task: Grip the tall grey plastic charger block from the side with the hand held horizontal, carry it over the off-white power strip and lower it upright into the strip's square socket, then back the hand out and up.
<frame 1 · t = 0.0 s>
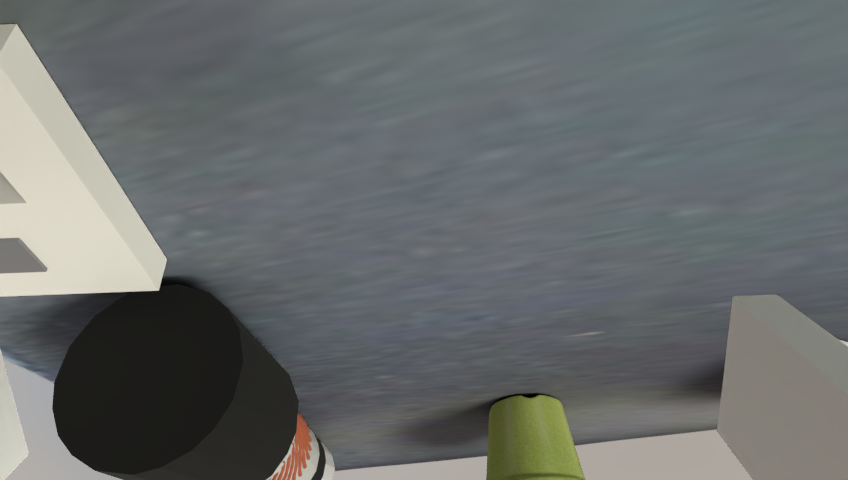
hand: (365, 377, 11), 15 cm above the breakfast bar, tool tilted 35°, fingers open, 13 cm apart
plant pot: (525, 404, 54), on the breakfast bar
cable: (264, 387, 50), on the breakfast bar
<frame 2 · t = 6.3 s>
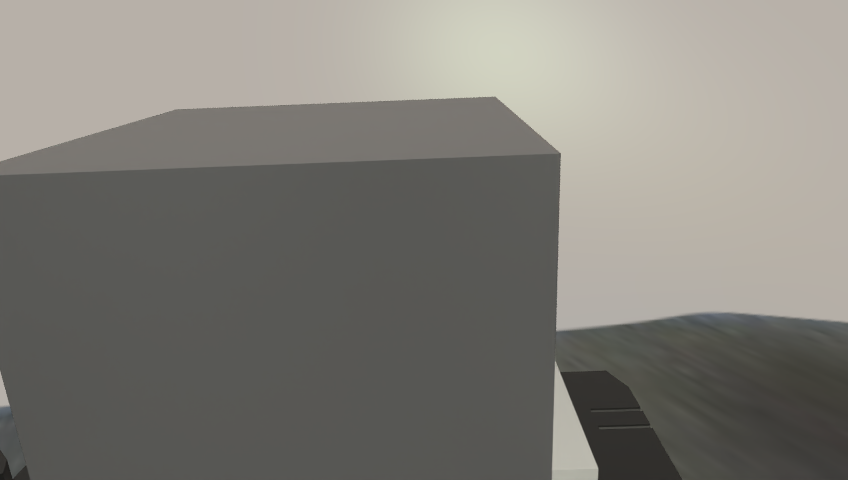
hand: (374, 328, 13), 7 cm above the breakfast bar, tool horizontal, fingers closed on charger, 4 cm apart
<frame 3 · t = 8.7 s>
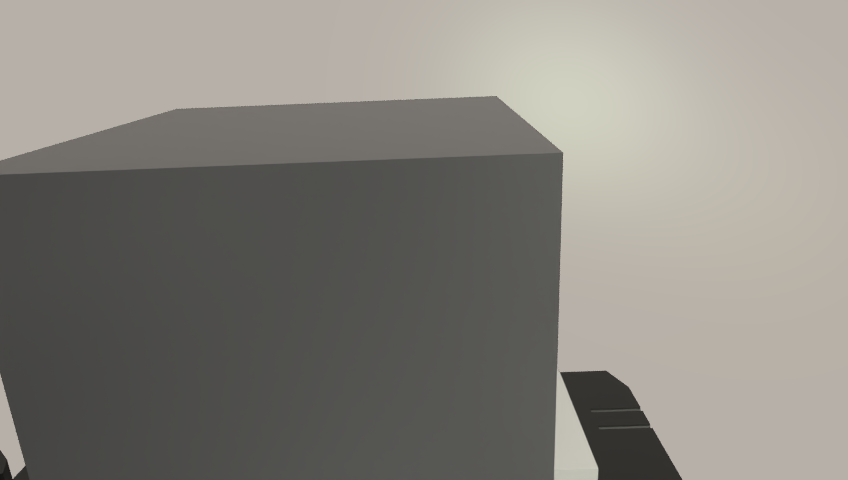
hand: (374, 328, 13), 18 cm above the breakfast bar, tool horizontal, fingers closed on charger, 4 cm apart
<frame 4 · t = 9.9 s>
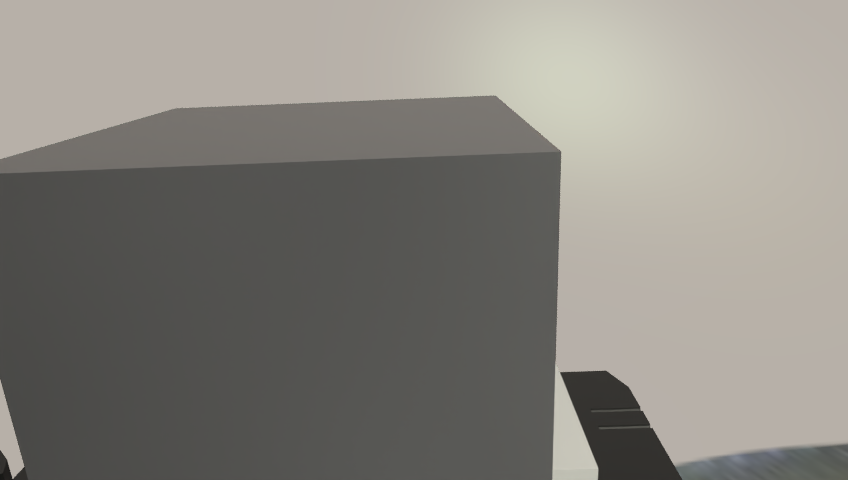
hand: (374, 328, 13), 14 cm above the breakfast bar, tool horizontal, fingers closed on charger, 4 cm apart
when the fingers open (8 cm above the breakfast bar, at t = 11.3 s): charger drops 2 cm, resting in power strip.
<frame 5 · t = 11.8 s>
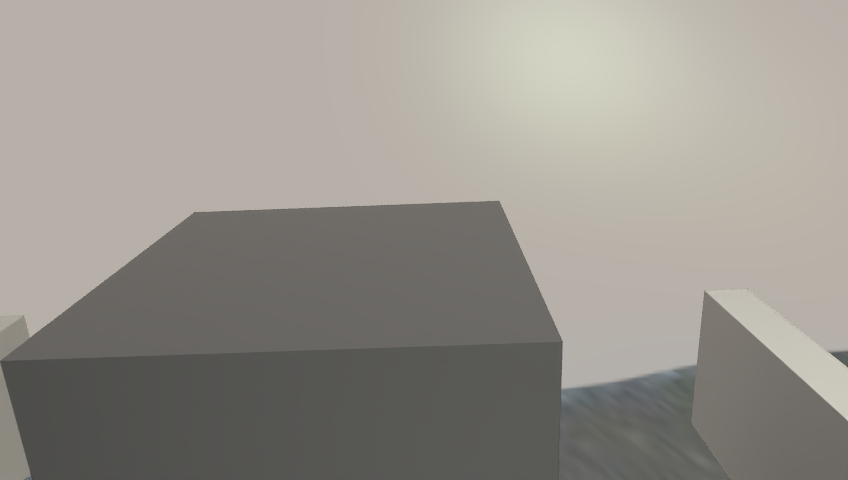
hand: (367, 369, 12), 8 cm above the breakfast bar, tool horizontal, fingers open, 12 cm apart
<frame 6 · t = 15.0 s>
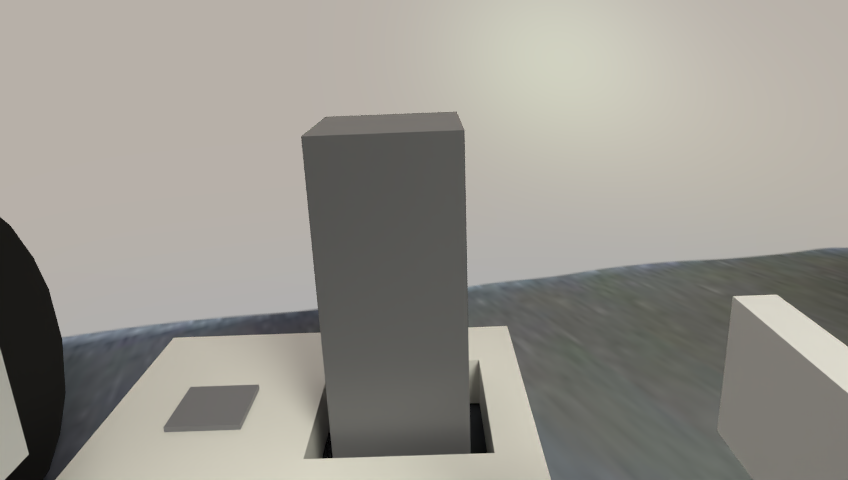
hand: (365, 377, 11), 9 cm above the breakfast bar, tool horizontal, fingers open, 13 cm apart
power strip: (323, 453, 23), on the breakfast bar
charger: (405, 452, 23), resting in power strip
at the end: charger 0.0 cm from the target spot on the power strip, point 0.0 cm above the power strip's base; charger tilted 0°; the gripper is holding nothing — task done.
